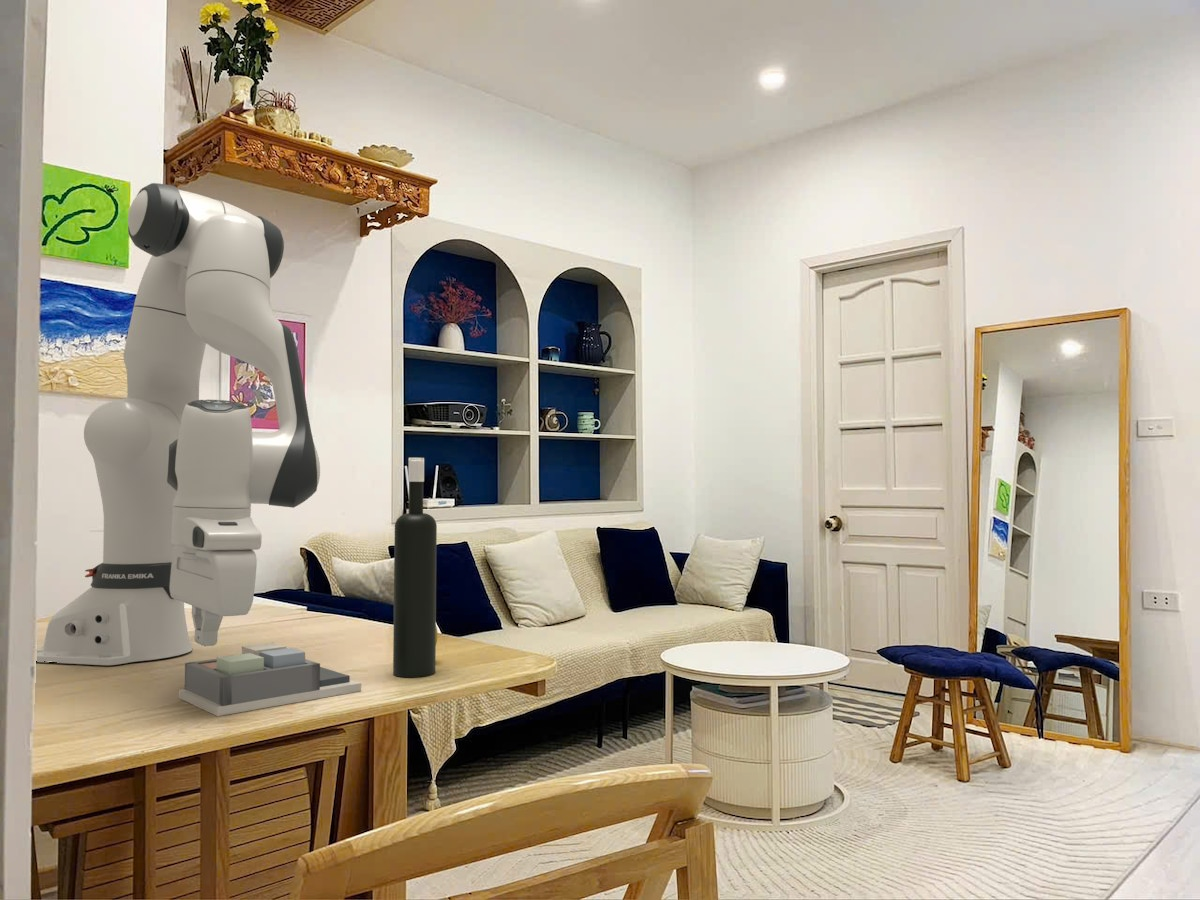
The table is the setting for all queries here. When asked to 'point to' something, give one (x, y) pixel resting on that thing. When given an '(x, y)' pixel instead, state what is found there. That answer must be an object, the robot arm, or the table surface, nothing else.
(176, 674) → the table surface
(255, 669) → the key sage
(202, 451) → the robot arm
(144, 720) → the table surface
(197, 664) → the keypad
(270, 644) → the key ivory
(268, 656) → the key slate
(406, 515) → the wine bottle
